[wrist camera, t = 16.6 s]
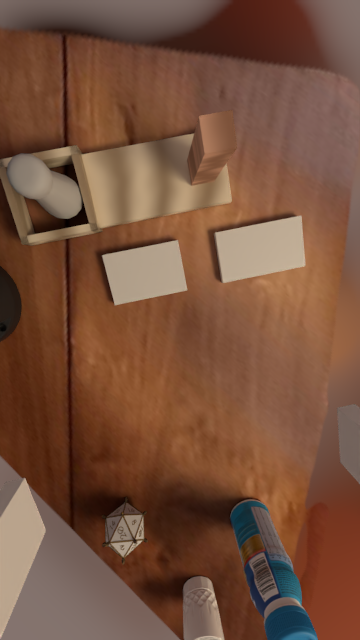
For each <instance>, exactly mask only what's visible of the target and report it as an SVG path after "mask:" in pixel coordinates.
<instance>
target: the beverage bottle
mask: <svg viewBox="0 0 360 640" xmlns="http://www.w3.org/2000/svg"><path fill="white" fill-rule="evenodd" d="M230 521H231V525H232V528H233V530H234V534H235V537H236V541H237V545H238V548H239V552H240V556H241V560H242V563H243V571H244V576H245V579H246V582H247V584H248V586H249V587H250V596H251V599H252V601H253V603H254V605H255V607H256V608H257V610H258V611H259V613H260V614H261V615H262V616H263V617H264V619H265V620H264V625H265V631H266V635H267V639H268V640H318V639H317V635H316V632H315V630H314V628H313V625H312V623H311V620H310V618H309V616H308V614H307V612H306V611H305V609H304V608H303V607H302V606H301V605H302V595H301V588H300V583H299V580H298V578H297V576H296V575H295V574H294V573H293V565H292V562H291V560H290V558H289V556H288V555H287V553H286V552H285V550H284V547H283V545H282V543H281V541H280V538H279V536H278V534H277V531H276V529H275V527H274V525H273V522H272V520H271V517H270V514H269V511H268V509H267V507H266V506H265V505H264V504H263V503H262V502H261V501H258V500H255V499H247V500H244V501H241V502H239V503H238V504H237V505H236V506H235V507H234V508H233V509H232V511H231V515H230Z"/></svg>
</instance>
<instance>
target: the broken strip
mask: <svg viewBox="0 0 360 640" xmlns="http://www.w3.org/2000/svg"><path fill="white" fill-rule="evenodd" d="M214 239H215V245H216V251H217V258H218V264H219V270H220V277H221V282H222V283H225V282H230V281H235V280H240V279H245V278H250V277H254V276H259V275H264V274H269V273H274V272H279V271H284V270H289V269H293V268H298V267H303V266H305V255H304V243H303V231H302V219H301V216H296V217H291V218H286V219H281V220H276V221H271V222H266V223H261V224H256V225H251V226H246V227H241V228H236V229H231V230H226V231H221V232H216V233H214ZM102 257H103V261H104V265H105V269H106V273H107V277H108V280H109V284H110V288H111V292H112V296H113V300H114V304H115V305H118V304H123V303H128V302H133V301H137V300H142V299H147V298H152V297H157V296H162V295H167V294H172V293H176V292H181V291H186V290H187V286H186V281H185V276H184V270H183V265H182V260H181V254H180V249H179V244H178V240H176V241H171V242H166V243H161V244H156V245H151V246H146V247H141V248H136V249H131V250H126V251H121V252H116V253H111V254H106V255H102Z"/></svg>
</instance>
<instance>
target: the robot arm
mask: <svg viewBox="0 0 360 640" xmlns="http://www.w3.org/2000/svg"><path fill="white" fill-rule="evenodd" d="M20 316H21V298H20V294H19V291H18V288H17V286H16V284H15V283H14V281H13V279H12V278H11V277H10V275H9V274H8V273H7V272H6V271H5V270H4V269H3V268H2V267H1V266H0V342H1V341H3V340H4V339H6V338H7V337H8V336H9V335H10V334H11V333H12V332H13V331H14V330H15V328H16V326H17V324H18V322H19V320H20ZM337 413H338V430H339V447H340V462H341V464H342V465H343V466H344V467H345V468H346V469H347V470H348V471H349V473H350V474H351V475H352V476H353V477H354V478H355V479H356V480H357V481H358V482H359V484H360V408H359V407H358V406H357V405H355V404H353V405H348V406H344V407H339V408H337ZM45 532H46V529H45V527H44V524H43V522H42V519H41V517H40V514H39V512H38V509H37V507H36V504H35V502H34V499H33V497H32V494H31V492H30V489H29V487H28V484H27V482H26V479H25V478H22V479H17V480H13V481H9V482H6V483H5V484H4V486H3V487H2V488H1V490H0V639H1V636H2V634H3V632H4V630H5V627H6V625H7V622H8V620H9V617H10V615H11V613H12V610H13V608H14V606H15V603H16V601H17V598H18V596H19V594H20V591H21V589H22V586H23V584H24V582H25V579H26V577H27V575H28V572H29V570H30V567H31V565H32V563H33V560H34V558H35V555H36V553H37V551H38V548H39V546H40V543H41V541H42V539H43V536H44V534H45Z"/></svg>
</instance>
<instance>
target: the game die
mask: <svg viewBox="0 0 360 640" xmlns="http://www.w3.org/2000/svg"><path fill="white" fill-rule="evenodd" d="M127 501H128V500H127V497H126V498H125V503H124V504H122V505H121V506H120V507H118V508H117V509H116V510H114V511H113V512H112V513H111V514H109V515H108V516H107V517H106V516H105V515H102V518H104V519H105V539H106V542H104V543H103V545H102V546H103V547H105V546H109V547H110V548H111V549H112V550H114V551H115V552H116V553H117V554H118V555H119V556H121V557H122V564H124V562H125V559H124V558H125V557H126V556H127V555H128V554H129V553H130V552H131V551H133V550H134V549H135V548H136V547H137V546H138V545H139V544H140V543H141V542H142V541H144V542H148V540H147V539H145V538H144V515H145V514H146V513H147V511H145V512H143V513H142V512H140V511H139V510H137V509H136V508H135V507H133V506H132V505H130V504H129V503H127Z"/></svg>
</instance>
